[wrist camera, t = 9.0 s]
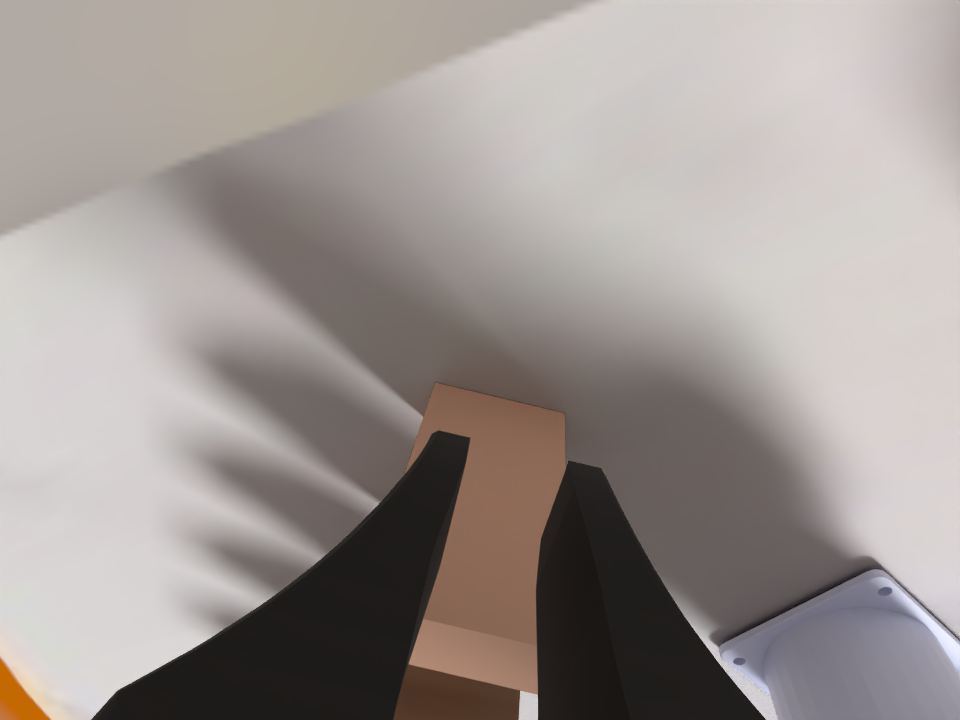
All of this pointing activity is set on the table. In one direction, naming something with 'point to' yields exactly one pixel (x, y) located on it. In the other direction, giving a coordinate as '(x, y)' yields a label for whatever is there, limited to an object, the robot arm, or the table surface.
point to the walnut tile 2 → (453, 698)
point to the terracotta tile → (491, 537)
